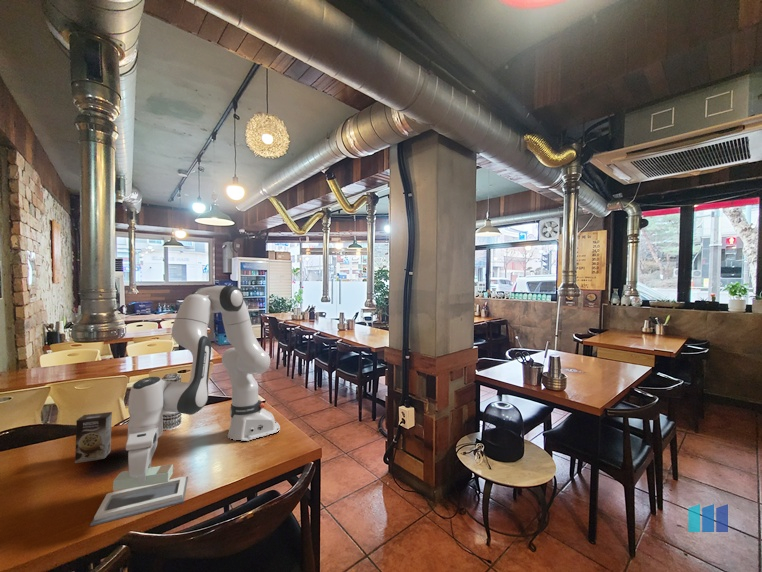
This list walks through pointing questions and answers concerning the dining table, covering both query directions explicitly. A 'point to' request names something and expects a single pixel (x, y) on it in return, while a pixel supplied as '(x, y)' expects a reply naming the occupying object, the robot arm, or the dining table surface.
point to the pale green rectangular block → (152, 477)
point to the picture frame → (140, 500)
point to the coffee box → (93, 437)
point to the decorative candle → (171, 418)
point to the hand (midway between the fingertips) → (144, 475)
